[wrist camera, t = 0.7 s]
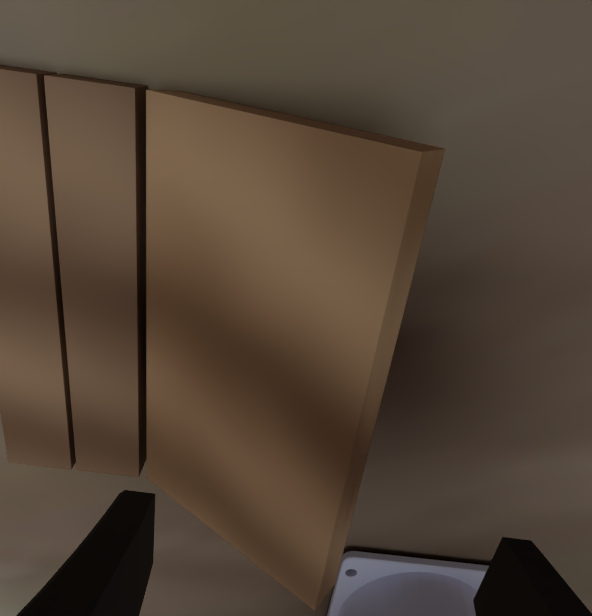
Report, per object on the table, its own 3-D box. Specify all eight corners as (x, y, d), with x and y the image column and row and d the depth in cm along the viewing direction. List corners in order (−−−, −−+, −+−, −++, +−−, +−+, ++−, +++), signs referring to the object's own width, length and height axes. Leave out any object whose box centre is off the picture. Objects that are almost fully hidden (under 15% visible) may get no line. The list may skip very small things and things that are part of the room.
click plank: (335, 584, 17) (314, 610, 16) (170, 461, 21) (146, 477, 20) (445, 148, 10) (422, 152, 10) (180, 91, 14) (146, 89, 13)
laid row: (147, 455, 21) (139, 477, 20) (24, 441, 21) (8, 462, 19) (147, 85, 15) (134, 87, 13) (-29, 60, 14) (-57, 60, 13)
